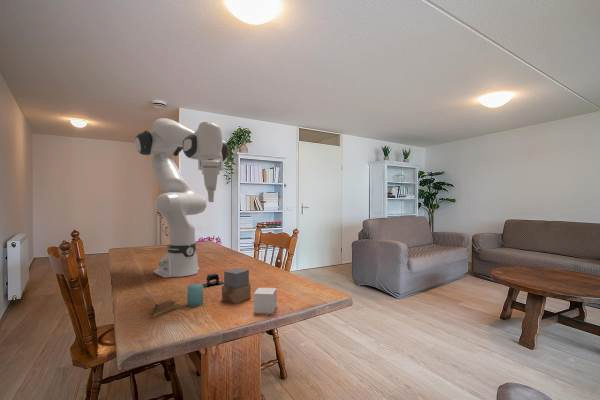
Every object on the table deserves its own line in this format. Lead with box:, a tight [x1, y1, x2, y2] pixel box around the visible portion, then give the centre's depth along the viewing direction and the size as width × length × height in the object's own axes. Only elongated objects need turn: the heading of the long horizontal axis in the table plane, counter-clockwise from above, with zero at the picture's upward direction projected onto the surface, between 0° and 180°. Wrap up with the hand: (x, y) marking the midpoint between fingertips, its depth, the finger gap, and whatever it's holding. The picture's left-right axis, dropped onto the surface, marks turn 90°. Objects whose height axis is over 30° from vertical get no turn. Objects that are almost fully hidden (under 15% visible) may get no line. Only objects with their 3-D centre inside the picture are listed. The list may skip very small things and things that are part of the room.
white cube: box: [253, 287, 278, 315], centre depth 87 cm, size 6×6×6 cm
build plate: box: [202, 272, 224, 289], centre depth 114 cm, size 12×7×5 cm, turn 128°
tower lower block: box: [221, 283, 252, 305], centre depth 97 cm, size 7×7×5 cm
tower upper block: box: [223, 267, 250, 289], centre depth 97 cm, size 6×6×5 cm
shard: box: [150, 299, 182, 319], centre depth 87 cm, size 11×8×2 cm
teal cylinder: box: [186, 283, 204, 308], centre depth 92 cm, size 5×5×6 cm
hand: (211, 201), depth 103 cm, fingers open, 8 cm apart
